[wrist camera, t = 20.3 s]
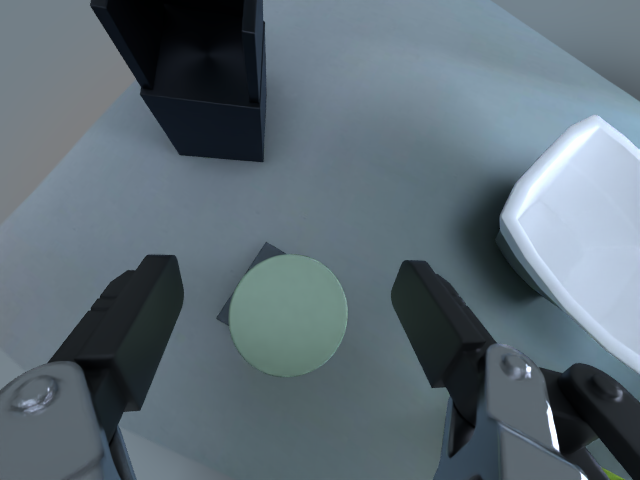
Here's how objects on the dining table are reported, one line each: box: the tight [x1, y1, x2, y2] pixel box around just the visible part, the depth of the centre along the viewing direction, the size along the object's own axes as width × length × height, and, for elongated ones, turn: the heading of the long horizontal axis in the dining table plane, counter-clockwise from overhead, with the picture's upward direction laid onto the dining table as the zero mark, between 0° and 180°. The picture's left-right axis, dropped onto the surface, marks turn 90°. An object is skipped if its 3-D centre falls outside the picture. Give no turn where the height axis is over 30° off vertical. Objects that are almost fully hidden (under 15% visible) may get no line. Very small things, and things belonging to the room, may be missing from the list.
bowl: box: [495, 115, 640, 375], centre depth 31 cm, size 22×23×8 cm
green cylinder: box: [229, 254, 348, 377], centre depth 19 cm, size 5×5×16 cm
